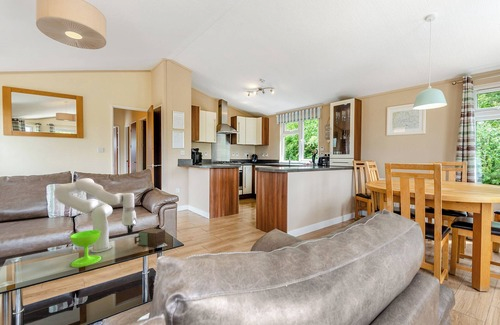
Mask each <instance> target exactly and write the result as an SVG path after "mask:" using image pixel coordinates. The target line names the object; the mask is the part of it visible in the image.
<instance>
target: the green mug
mask: <svg viewBox="0 0 500 325" xmlns="http://www.w3.org/2000/svg"><path fill="white" fill-rule="evenodd" d="M137 235H138V236H134V239H133V240H134V244H135V245H136V244H137V243H138V245H140V244H141V245H145V246H147V245H148V233H139V232H138V234H137ZM137 239H138V240H137Z"/></svg>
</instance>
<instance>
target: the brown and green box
mask: <svg viewBox="0 0 500 325" xmlns="http://www.w3.org/2000/svg"><path fill="white" fill-rule="evenodd" d="M138 233H148V245H141V244H137V246H138V247H140V246H141V247H146V248H154V249H155V248H157V247H159V246H160V245H163V244H164V243H166V229H164V228H152V227H150V228H149V227H148V228H146V229H144V230H141V231H139V232H138Z"/></svg>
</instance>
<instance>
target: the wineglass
mask: <svg viewBox="0 0 500 325" xmlns="http://www.w3.org/2000/svg"><path fill="white" fill-rule="evenodd" d="M100 232H101V231H99V230H93V229H91V230H84V231H79V232H76V233H75V232H74V233H73V234H71V235H70V236H69V237H70V241H71V243H72V244H73V245H74V246H77V247H79V248H84V256H82V257H79V258H77V259H75V260H73V261H72V262H71V264H70V267H73V268H83V267H87V266H91V265H94V264H96V263H98V262H100V261H101V260H102V257H101V256H100V255H97V254H95V255H94V254H89V247H90V246H91V245H92V244H93V243H95V242H96V241H97V240H98V238H99V236H100Z"/></svg>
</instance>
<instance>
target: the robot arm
mask: <svg viewBox="0 0 500 325" xmlns="http://www.w3.org/2000/svg"><path fill="white" fill-rule="evenodd" d="M82 192H83V193H86V194H89V195H92V196H94V197H95V198H88V199H85V198H83V197H80V196H79V195H75V194H78V193H82ZM53 195H54V198H55V200H57V201H58V202H59V203H61V204H62V205H64V206H67V207H70V208H72V209H74V210H77V211H78V212H81V213H83V214H89V213H91V215H90V216H91V221H92V230H99V231H101V232H100V236H99V238H98V240H97V241H96V242H95V243H93V244H92V245H90V246H91V247H92V248H91V249H90V252H91V253H95V254H96V253H102V252H106V251H109V250H111V248H112V245H111V244H110V235H109V232H110V231H109V229H110V228H109V221H108V217H110V216H111V215H112V213H113V211H114V210H113V207H112V206H116V205H119V204H122V210H123V211H122V213H121V224H122V225H123V226H124V227H126V231H127V235H132V234H133V233H134V227H136V226H137V223H138V222H137V213H136V209H135V206H136V205H135V194H134V192H125V193H124V192H116V193H111V192H109V191H107V190H105V188H104V186H103V185H101V184H99V183H96V182H95V181H94V179H92V178H90V177H84V178H79V179H78V180H76V181H72V182H69V183H62V184H60V185H58V186H56V187H55V188H54V190H53Z"/></svg>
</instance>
